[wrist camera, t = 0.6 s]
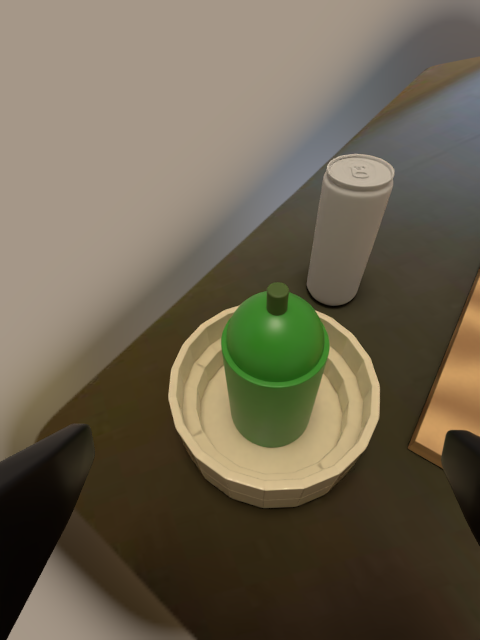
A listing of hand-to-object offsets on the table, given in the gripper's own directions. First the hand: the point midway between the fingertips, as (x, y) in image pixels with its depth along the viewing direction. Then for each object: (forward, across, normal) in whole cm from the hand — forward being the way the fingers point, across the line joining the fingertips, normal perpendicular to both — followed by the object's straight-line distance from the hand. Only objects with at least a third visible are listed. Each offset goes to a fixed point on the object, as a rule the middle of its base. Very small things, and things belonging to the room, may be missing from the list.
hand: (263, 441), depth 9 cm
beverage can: (+25, -7, +2) cm, 26 cm away
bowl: (+15, -1, +9) cm, 17 cm away
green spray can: (+14, -1, +8) cm, 17 cm away
